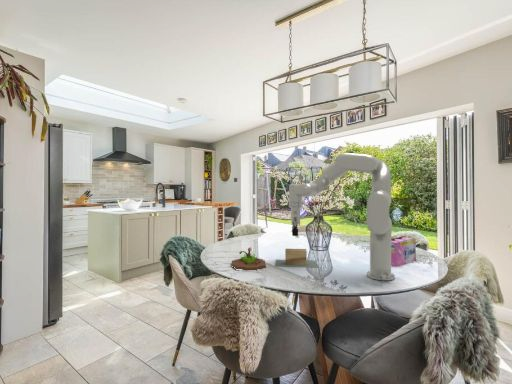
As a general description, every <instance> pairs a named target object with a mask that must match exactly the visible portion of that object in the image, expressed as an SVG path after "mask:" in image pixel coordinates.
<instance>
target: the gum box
mask: <svg viewBox="0 0 512 384" xmlns="http://www.w3.org/2000/svg"><path fill="white" fill-rule="evenodd" d="M416 254H417V252H416V238H415V237H413V238H410V237H407V236H404V235H403V236H399V237H394V238H391V267H394V268H395V267H399V266H402V265H405V264H409V263H411V262H415V261H416V260H417V255H416Z"/></svg>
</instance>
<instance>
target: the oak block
mask: <svg viewBox="0 0 512 384" xmlns="http://www.w3.org/2000/svg"><path fill="white" fill-rule="evenodd" d="M307 253H308V252H307V249H306V248H285V253H284V255H285V259H284V260H285V264H289V265H307V260H308V259H307V256H308V255H307Z"/></svg>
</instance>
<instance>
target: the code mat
mask: <svg viewBox="0 0 512 384" xmlns="http://www.w3.org/2000/svg"><path fill="white" fill-rule="evenodd" d="M274 267H275V268H303V269H304V268H306V269H307V268H310V269H318V268H319V266H318V264H317V261H316V260H308V259H307V265H289V264H285V259H275V262H274Z"/></svg>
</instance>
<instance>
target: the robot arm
mask: <svg viewBox="0 0 512 384" xmlns="http://www.w3.org/2000/svg"><path fill="white" fill-rule="evenodd" d="M348 172H358V173H359V172H360V173H365V174H370V175H371V193H370V194H369V196H367V200H366V226H367V229H368V230H369V232H370V237H369V270H368V271H367V272H366V276H367V277H368V278H370V279H373V280H377V281H384V282H385V281H387V282H388V281H393V280H395V276H396V275H395V274H394V273H392V266H391V239H392V234H393V233H392V230H393V223H392V219H391V217H390V206H391V204H392V193H391V192H392V190H391V189H392V183H391V181H392V179H391V176H392V175H391V171H390V168H389V166H388V165H387V164H386V163H385V161H383V160H381V159H379V158H377V157H375V156H373V155H370V154H363V153H362V154H361V153H352V152H351V153H349V152H341V153H338V154H337V155H336V156H335V158H334V161H333V162H332V163H330V164H329V165H327V166H326V167H325V168H324V169H323V170H322V172H321V174H320V176H319V177H318V178H317V179H315V180H314V181H312V182H310V183H308V182H307V183H306V182H305V183H290V184H289V185H288V208H290V221H291V222H290V223H291V225H292V227H291V233H292V234H291V235H292V236H293V237H298V236H299V228H298V227H299V226H300V225H301V209H302V208H303V197H305V198H307V197H308V198H309V197H314V196H317V195H319V193H322V192H323V191H324V190H326V189H327V188H328V187H329V186H331V185H332V184H333V182H335V181H337V180H338V179H339V178H341V177H342V176H344V175H345V174H347V173H348Z"/></svg>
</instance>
